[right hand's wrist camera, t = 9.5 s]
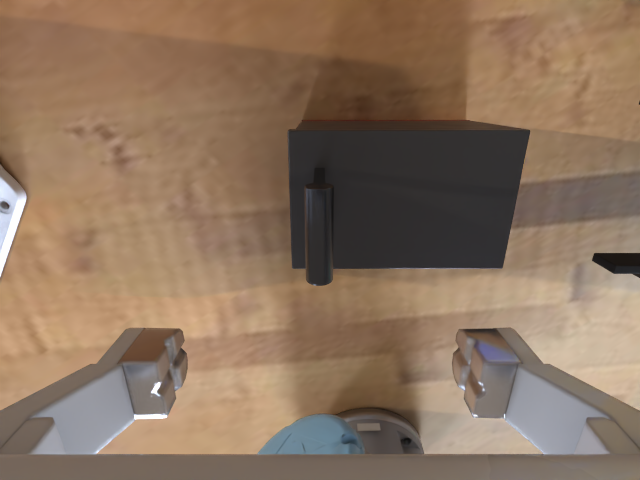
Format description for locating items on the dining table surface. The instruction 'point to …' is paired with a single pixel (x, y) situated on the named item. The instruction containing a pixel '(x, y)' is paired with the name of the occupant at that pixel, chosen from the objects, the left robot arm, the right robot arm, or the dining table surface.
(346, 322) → the dining table surface
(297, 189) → the lid
